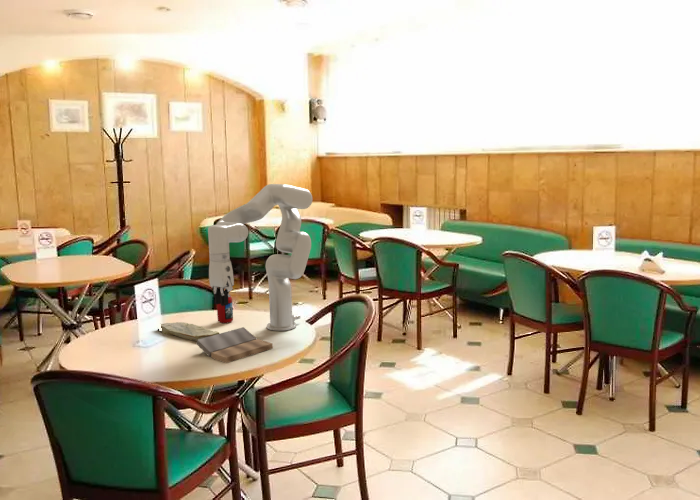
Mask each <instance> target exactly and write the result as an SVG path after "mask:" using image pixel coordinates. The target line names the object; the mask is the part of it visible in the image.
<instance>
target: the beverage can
mask: <svg viewBox="0 0 700 500" xmlns="http://www.w3.org/2000/svg"><path fill="white" fill-rule="evenodd" d="M228 303H229V304H228V305H224V306H221V304H216V310H217V311H216V312H217V322H219V323H220V324H230V323H231V322H233V321H234V310H233V309H234V307H233V298H232V296H231V294H229V295H228Z"/></svg>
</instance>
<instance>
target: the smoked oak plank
mask: <svg viewBox="0 0 700 500" xmlns="http://www.w3.org/2000/svg"><path fill="white" fill-rule="evenodd" d="M219 333H220V332H219ZM256 339H258V338H257V337H255V335H254V334H252V333H251V332H250V331H248V329H246V327H244V326H243V327H239V328H235V329H231V330H228V331H224V332H221V333H220V334H217V335H213V336H209V337H206V338H202V339H198V340H197V341H196V345H197V346H198V347H199V348H200V349H201V350H202V351H203V352H204V353H205V354H206V355H207V356H208V357H211V353H212V352H215V351H219V350H222V349H225V348H229V347H232V346H235V345H239V344H242V343H246V342H249V341H252V340H256Z"/></svg>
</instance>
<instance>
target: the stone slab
mask: <svg viewBox="0 0 700 500" xmlns="http://www.w3.org/2000/svg"><path fill="white" fill-rule="evenodd" d="M160 324H161V328H162V332H161V333H162V334H163V335H166V336H167V335H169V336H175V337H178V338H180V339H181V338H182V339H185V340H190V341H196V342H197V340H198V339H202V338H206V337H209V336H213V335H217V334H220V332H219V331H216V330H215V331H213V330H210V329H207V328H205V327H203V326H200V325H196V324H193V323H188V322H183V321H180V322H179V321H178V322H163V323H160Z"/></svg>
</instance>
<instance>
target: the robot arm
mask: <svg viewBox="0 0 700 500" xmlns="http://www.w3.org/2000/svg"><path fill="white" fill-rule="evenodd" d="M312 204H313V195H312V193H311V192H310V190H309V189H306V188H303V187H299V186H294V185H291V184H282V183H271V184H266V185H265V186H264V187H262V188H261V189H260V191H258V193H256V194H255V195H254V196H253V197H252V198H250V200H249V201H248V202H247V203H245V204H243V205H240V206H238V207H237V208H234V209H232V210H230V211H229V212H228V213H226V214H224V216H222V218H220V219H219V220H218V221H217V222H216V224H214V225H212V224H211V225H210V226H208V228H207V234H208V235H207V236H208V251H209V252H208V253H209V265H208V279H209V280H208V281H209V286H210V287H211V288H212V290H213V294H214V301H215V302H214V304H215V305H217V304H221V306H224V305H228V304H229V303H228V295H230V292H232V290H233V288H234V285H235V279H234V271H233V265H232V264H233V263H232V261H231V259H230V243H241V242H243V241H245V240H246V239H247V238H248V236H249V229H248V227H247V226H246V225H245V224H249V223H254V222H257V221H260V220H261V219H263V218H265V216H266V215H268V213H269V212H270V211H271V210H272V209H273V208H274V207H275V206H278V208H279V210H280V212H281V222H280V226H279V229H278V232H277V236H276V240H275V247H276V250H278V252H282V253H287V254H280V253H279V254H278V253H277V254H272V255H270V256H269V257H268V258H267V259H266V261H265V270H266V275H267V281H268V298H269V299H268V300H269V323H267V324H266V328H267V329H268V330H270V331H276V332H281V331H283V332H284V331H289V330H290V331H291V330H293V329H295V328H296V327H297V323H296V322H295V321H296V320H299V319H301V315H300V314H296V315H294V314H293V305H292V304H293V301H292V300H293V299H292V297H293V296H292V283H291V281H290V279H293V280H297V279H300V278H301V277H302V276H303V275H304V273H305V270H306V267H307V265H308V260H309V256H310V253H311V250H312V239H311V236H310V235H309V234H308V233H307V232H305V231H301V226H302V216H301V214H300V212H299V210H306V209H309V208H310V207H311V205H312ZM288 254H289V255H288ZM290 254H291V255H290Z"/></svg>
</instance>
